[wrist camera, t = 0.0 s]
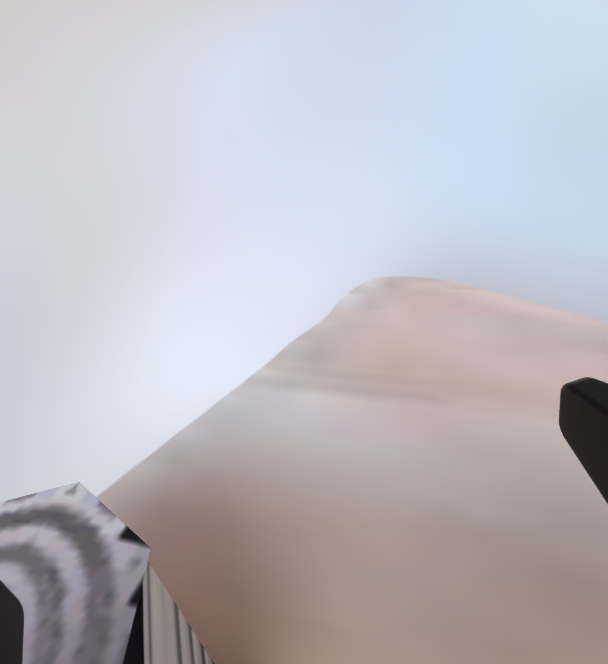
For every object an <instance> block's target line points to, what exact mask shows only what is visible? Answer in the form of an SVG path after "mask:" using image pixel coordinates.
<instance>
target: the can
mask: <svg viewBox="0 0 608 664" xmlns="http://www.w3.org/2000/svg"><path fill="white" fill-rule="evenodd" d="M150 551H151V548H150V547H149V546H148V545H147V544H146V543H145V542H144V541H142V540H141V539H140V538H139V537H138V536H137V535H136V534H135V533H134V532H133V531H132V530H131V529H129V528H128V527H127V526H126V525H125V524H124V523H123V522H122V521H121V520H120V519H119V518H118V517H116V516H115V515H114V514H113V513H112V512H111V511H110V510H109V509H108V508H107V507H106V506H105V505H103V504H102V503H101V502H100V501H99V500H98V499H97V498H96V497H95V496H94V495H92V493H90V492H89V491H88V490H87V489H86V488H85V487H84V486H83V485H82V484H81V483H79V482H78V483H74V484H70V485H66V486H62V487H58V488H55V489H51V490H47V491H43V492H39V493H35V494H31V495H27V496H23V497H19V498H16V499H12V500H8V501H4V502H0V580H1V581H2V582H3V583H4V584H5V585H6V586H7V588H8V589H9V590H10V591H11V592H12V593H13V594H14V595H15V596H16V597H17V598H18V599H19V601H20V602H21V605H22V607H23V611H24V637H23V662H22V664H214V663H213V661H212V660H211V658H210V656H209V655H208V653H207V652H206V650H205V649H204V647H203V646H202V644H201V642H200V641H199V639H198V638H197V636H196V635H195V633H194V632H193V630H192V628H191V627H190V625H189V624H188V622H187V621H186V619H185V618H184V616H183V614H182V613H181V611H180V610H179V608H178V607H177V605H176V604H175V602H174V600H173V599H172V597H171V596H170V594H169V593H168V591H167V590H166V588H165V586H164V585H163V583H162V582H161V580H160V579H159V577H158V576H157V574H156V572H155V571H154V569H153V568H152V566H151V565H150V563H149V562H148V559H149V555H150Z"/></svg>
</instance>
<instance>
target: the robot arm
mask: <svg viewBox="0 0 608 664" xmlns="http://www.w3.org/2000/svg"><path fill="white" fill-rule="evenodd" d="M559 426H560V429H561V432H562V434H563V436H564V438H565V439H566V441H567V442H568V444H569V445H570V447H571V449H572V450H573V452H574V453H575V455H576V456H577V458H578V459H579V461H580V462H581V464H582V465H583V467H584V468H585V470H586V471H587V473H588V475H589V476H590V478H591V479H592V481H593V482H594V484H595V485H596V487H597V488H598V490H599V491H600V493H601V494H602V496H603V497H604V499H605V501H606V502H607V504H608V383H605V382H602V381H600V380H597V379H594V378H589V377H586V378H581V379H578V380H575V381H572V382H569V383H566V384H565V385H563V387H562V389H561V394H560V411H559ZM23 637H24V611H23V607H22V605H21V602H20V601H19V599H18V598H17V597H16V596H15V595H14V594H13V593H12V592H11V591H10V590H9V589H8V588H7V586H6V585H5V584H4V583H3V582H2V581H1V580H0V664H22V662H23Z"/></svg>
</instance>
